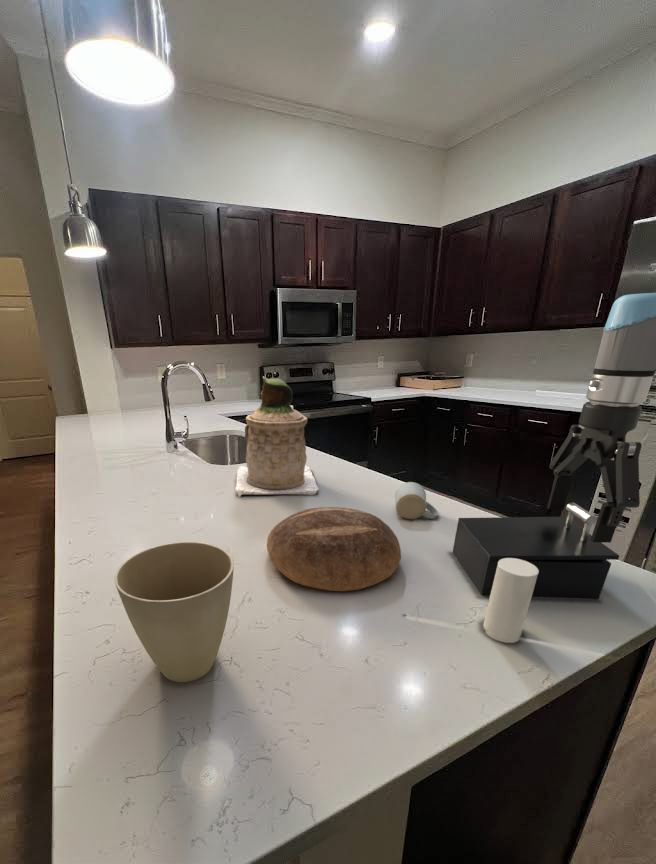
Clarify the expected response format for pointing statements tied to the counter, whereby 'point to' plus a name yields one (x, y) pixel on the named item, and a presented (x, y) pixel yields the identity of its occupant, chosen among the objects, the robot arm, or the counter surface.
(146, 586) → the plant pot
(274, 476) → the cookie jar
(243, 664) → the counter surface
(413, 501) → the ceramic mug
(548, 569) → the bin
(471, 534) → the bin lid
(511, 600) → the canister
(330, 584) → the bread
